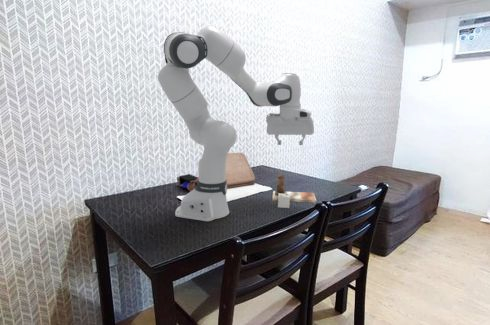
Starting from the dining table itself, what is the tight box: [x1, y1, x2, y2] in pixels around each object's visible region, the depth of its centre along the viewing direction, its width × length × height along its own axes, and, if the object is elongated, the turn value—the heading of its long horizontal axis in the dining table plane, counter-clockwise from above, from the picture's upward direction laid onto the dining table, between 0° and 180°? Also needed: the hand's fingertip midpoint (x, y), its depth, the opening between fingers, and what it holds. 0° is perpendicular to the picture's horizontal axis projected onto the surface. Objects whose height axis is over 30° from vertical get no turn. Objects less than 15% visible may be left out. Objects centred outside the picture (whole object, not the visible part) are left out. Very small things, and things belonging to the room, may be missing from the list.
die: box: [277, 193, 291, 209], centre depth 134 cm, size 5×5×5 cm
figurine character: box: [176, 173, 199, 192], centre depth 156 cm, size 7×8×15 cm
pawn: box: [274, 173, 286, 196], centre depth 145 cm, size 5×5×10 cm
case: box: [226, 152, 256, 189], centre depth 168 cm, size 20×21×16 cm
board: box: [272, 190, 317, 204], centre depth 145 cm, size 20×11×1 cm, turn 83°
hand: (290, 144), depth 130 cm, fingers open, 8 cm apart
